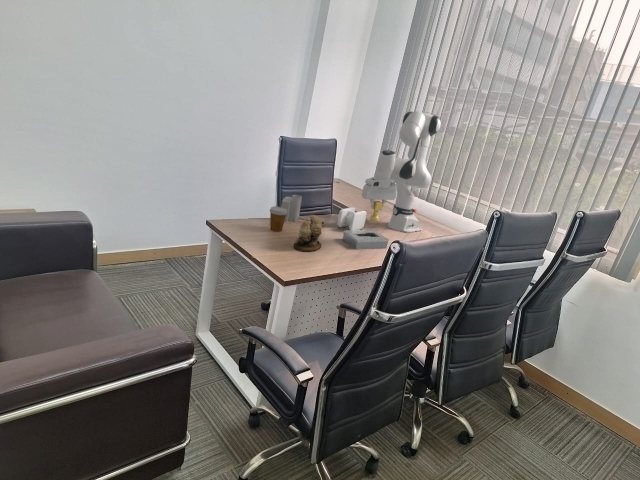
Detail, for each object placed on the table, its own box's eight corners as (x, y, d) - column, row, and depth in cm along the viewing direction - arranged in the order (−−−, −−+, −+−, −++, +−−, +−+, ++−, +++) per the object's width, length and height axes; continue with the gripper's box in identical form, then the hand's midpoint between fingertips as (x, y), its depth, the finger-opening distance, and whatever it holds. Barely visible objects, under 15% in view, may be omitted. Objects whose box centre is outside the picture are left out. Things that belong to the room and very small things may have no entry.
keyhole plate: (372, 238, 232) (374, 230, 230) (386, 248, 220) (388, 239, 219) (342, 239, 222) (344, 230, 221) (355, 249, 211) (357, 240, 209)
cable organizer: (350, 233, 235) (354, 214, 231) (335, 227, 240) (339, 209, 236) (363, 229, 246) (367, 211, 242) (349, 223, 252) (353, 206, 248)
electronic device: (283, 215, 246) (286, 191, 241) (324, 223, 244) (328, 199, 239) (278, 220, 235) (281, 195, 230) (321, 229, 232) (325, 204, 227)
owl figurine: (308, 239, 214) (313, 208, 208) (326, 246, 209) (332, 215, 203) (287, 246, 199) (293, 214, 194) (307, 254, 194) (313, 221, 188)
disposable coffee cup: (288, 230, 222) (290, 209, 218) (279, 234, 214) (282, 212, 210) (273, 225, 226) (275, 205, 221) (264, 229, 217) (266, 208, 213)
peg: (375, 219, 222) (378, 200, 218) (379, 221, 218) (383, 203, 215) (368, 219, 220) (372, 200, 216) (372, 221, 216) (376, 203, 213)
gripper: (394, 181, 219) (388, 205, 224) (362, 179, 210) (357, 205, 214) (401, 184, 214) (395, 209, 219) (369, 182, 205) (364, 208, 209)
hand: (376, 207), depth 217 cm, fingers closed on peg, 4 cm apart
